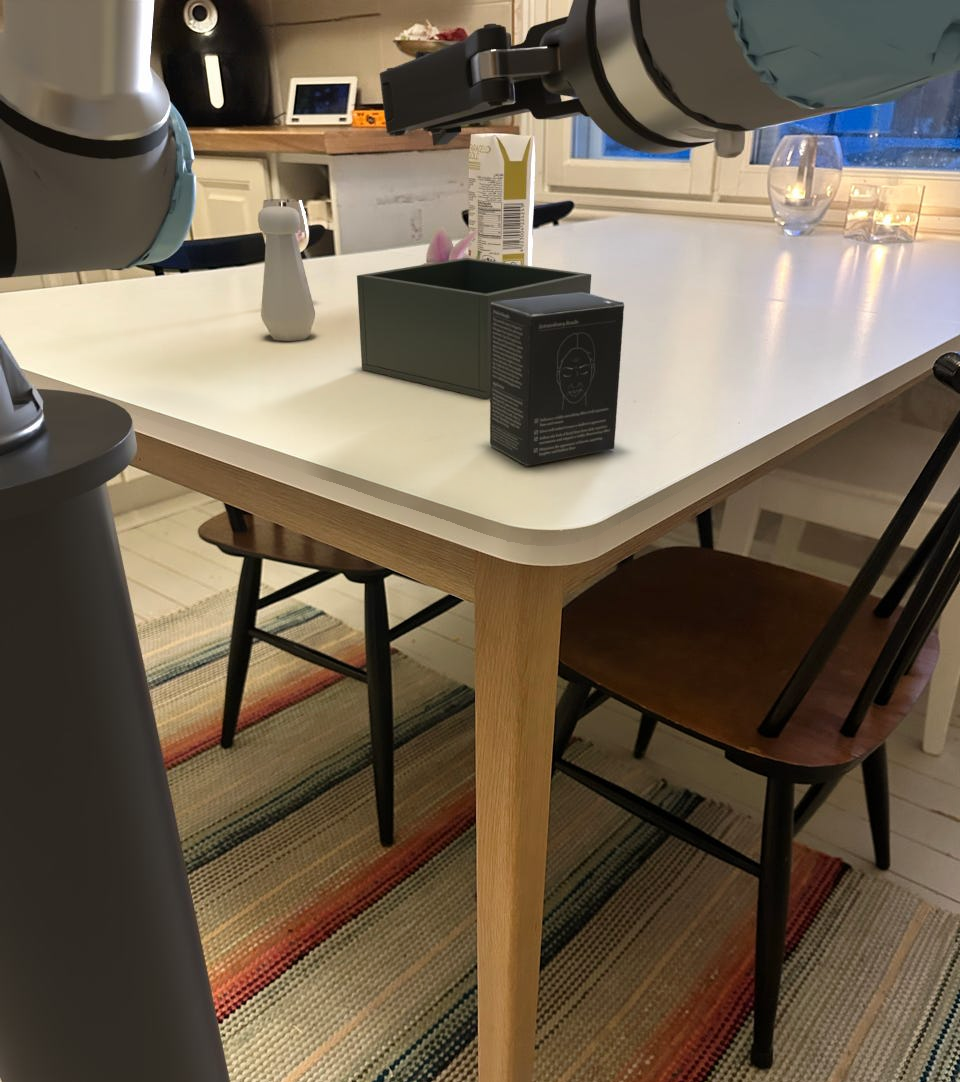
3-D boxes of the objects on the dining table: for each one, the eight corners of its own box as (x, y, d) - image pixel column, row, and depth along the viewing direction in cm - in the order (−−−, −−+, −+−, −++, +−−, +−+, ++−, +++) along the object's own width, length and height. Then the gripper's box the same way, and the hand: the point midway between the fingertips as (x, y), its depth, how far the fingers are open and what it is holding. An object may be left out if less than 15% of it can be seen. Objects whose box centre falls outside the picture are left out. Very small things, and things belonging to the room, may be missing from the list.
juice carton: (488, 292, 126) (490, 135, 117) (463, 282, 133) (463, 133, 124) (536, 288, 129) (542, 134, 120) (509, 279, 136) (513, 133, 126)
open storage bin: (361, 369, 89) (356, 275, 85) (465, 342, 99) (465, 257, 95) (486, 399, 80) (487, 295, 76) (585, 366, 91) (591, 274, 86)
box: (573, 431, 73) (581, 290, 67) (615, 451, 68) (628, 303, 63) (486, 445, 69) (488, 298, 64) (525, 468, 65) (531, 312, 60)
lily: (489, 309, 121) (457, 238, 119) (518, 286, 110) (484, 207, 108) (409, 346, 118) (376, 274, 116) (431, 326, 107) (395, 246, 105)
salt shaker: (324, 339, 100) (315, 208, 93) (274, 345, 97) (260, 210, 91) (305, 329, 104) (294, 203, 98) (256, 334, 102) (242, 205, 95)
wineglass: (267, 300, 120) (257, 198, 113) (311, 298, 121) (303, 198, 115) (271, 308, 115) (260, 203, 109) (317, 306, 116) (309, 202, 110)
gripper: (348, 182, 32) (343, 204, 51) (1023, 112, 34) (774, 158, 53) (310, -87, 28) (320, 45, 48) (1056, -145, 31) (778, 4, 50)
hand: (559, 105), depth 50 cm, fingers open, 13 cm apart
